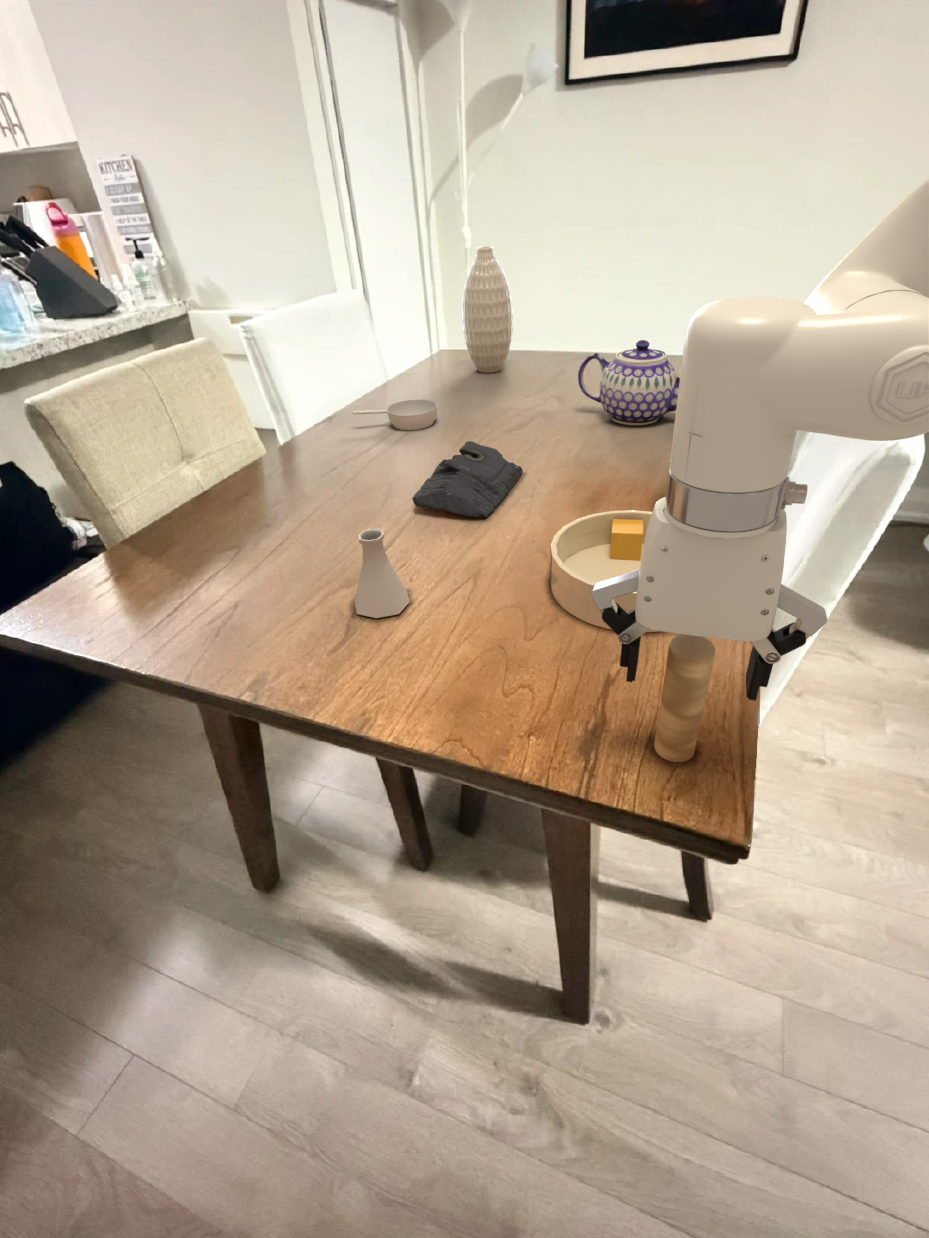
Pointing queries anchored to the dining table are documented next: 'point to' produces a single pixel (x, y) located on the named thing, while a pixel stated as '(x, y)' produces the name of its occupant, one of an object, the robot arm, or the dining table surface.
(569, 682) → the dining table surface
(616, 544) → the mustard block
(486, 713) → the dining table surface
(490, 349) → the vase
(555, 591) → the bowl
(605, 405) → the teapot
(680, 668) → the beige marbled cylinder
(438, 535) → the dining table surface
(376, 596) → the flask
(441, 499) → the dark slate chunk
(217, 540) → the dining table surface
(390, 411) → the small pan
